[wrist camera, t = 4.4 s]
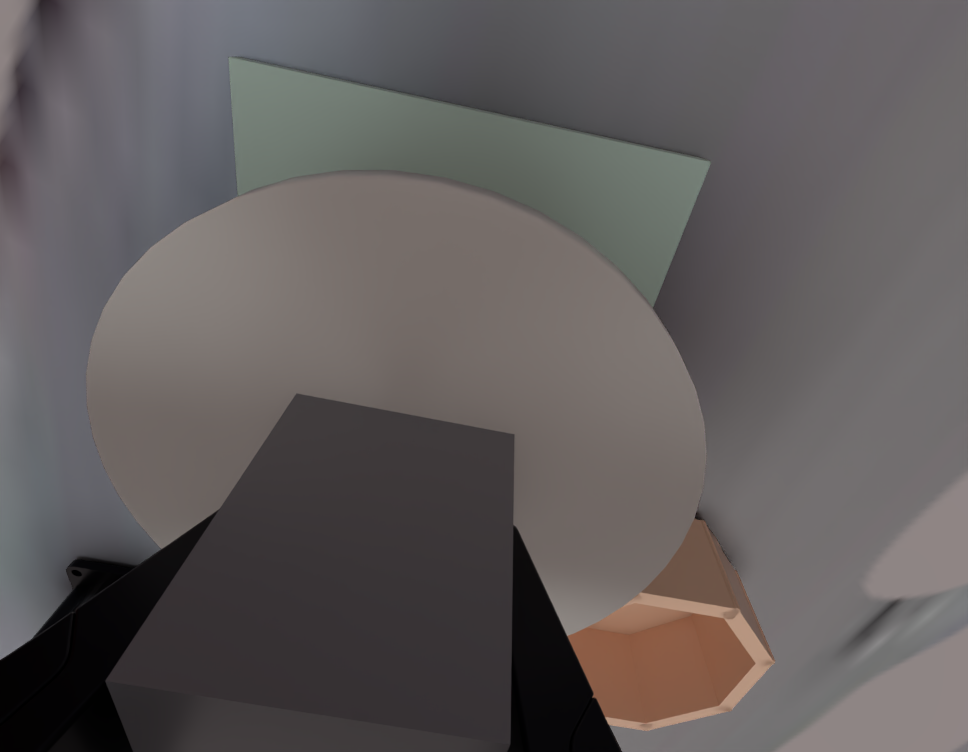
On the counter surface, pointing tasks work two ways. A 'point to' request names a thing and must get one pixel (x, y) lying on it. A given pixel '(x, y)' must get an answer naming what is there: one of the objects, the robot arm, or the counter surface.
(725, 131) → the counter surface
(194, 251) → the lid
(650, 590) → the bowl
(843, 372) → the counter surface
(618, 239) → the mat
